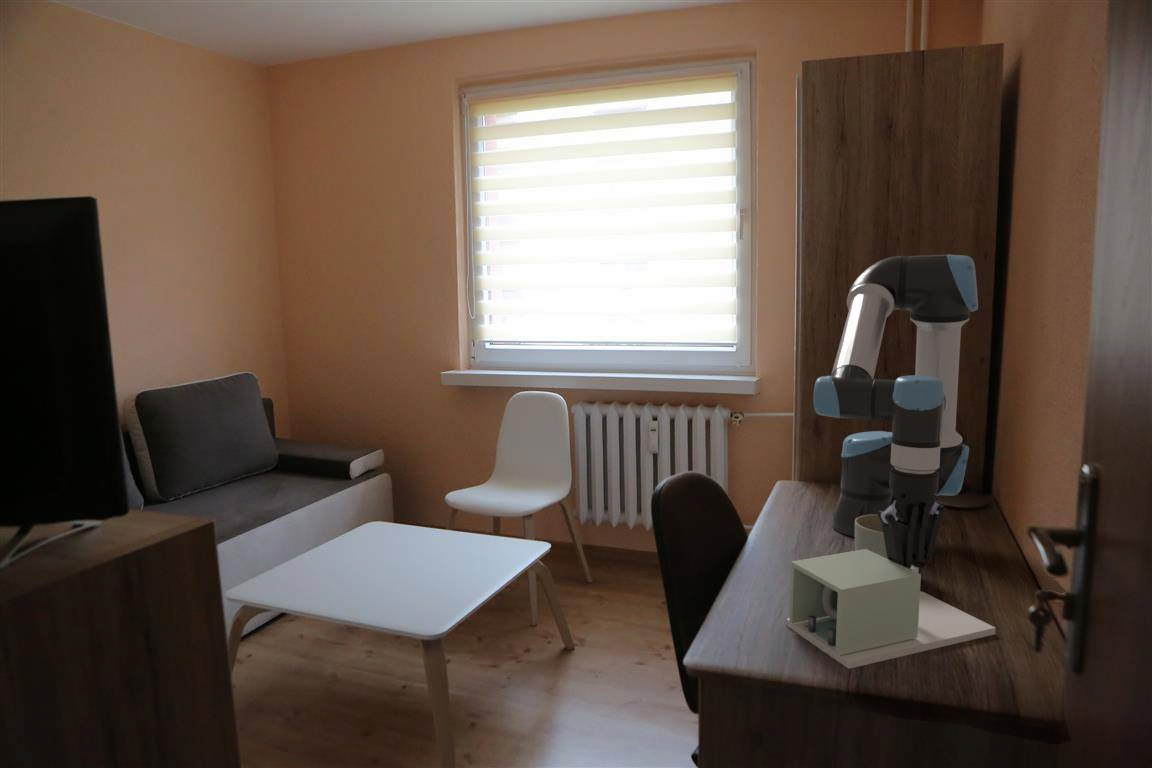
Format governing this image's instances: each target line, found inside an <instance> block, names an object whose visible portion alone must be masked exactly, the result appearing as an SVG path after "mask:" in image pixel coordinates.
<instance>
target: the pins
mask: <svg viewBox="0 0 1152 768" xmlns="http://www.w3.org/2000/svg"><path fill="white" fill-rule="evenodd" d="M808 631H809V632H811V633H813V632H815V631H816V616H813V615H810V616H809V621H808ZM828 645H830V646H834V645H836V629H834V628H829V629H828Z"/></svg>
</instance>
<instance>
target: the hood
mask: <svg viewBox="0 0 1152 768" xmlns="http://www.w3.org/2000/svg"><path fill="white" fill-rule="evenodd" d="M921 579H922V574H921V573H920V574H919V573H917V572H914V571H912V570H910V569H908V568H906V567H904V566H902V565H899V564H897V563H895V562H893V561H891V560H889V559H887V558H884V557H882V556H880V555H878V554H876V553H874V552H872V551H869V550H867V549H862V550H856V551H855V550H851V551H845V552H839V553H833V554H828V555H822V556H816V557H810V558H803V559H798V560H792V561H790V590H789V618H790V619H789V622H791V623H792V624H793V623H798V622H803V621H807V620H809V616H810V615H813V616H816V619H817V618H822V617H827V616H828V614H827V613H826V612H825V610H824V608H823V605H822V591H823V588H824V587H825V586H827V587H829V588H831V589H832V590H834V591H833V593H832V596H831V603H832V607H833V608H834V609H835V610H837V626H836V652H835V653H836V654H838V655H843V654H847V653H852V652H856V651H860V650H865V649H869V648H874V647H878V646H882V645H887V644H891V643H896V642H900V641H904V640H909V639H913V638H918V620H919V602H920V592H921Z"/></svg>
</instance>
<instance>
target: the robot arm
mask: <svg viewBox="0 0 1152 768" xmlns="http://www.w3.org/2000/svg"><path fill="white" fill-rule="evenodd" d="M976 272H977V271H976V266H975V262H974V259H973V258H972V257H971V256H968V255H960V254H957V255H956V254H949V253H948V254H929V255H926V254H925V255H923V254H922V255H904V256H903V255H895V256H890V257H886V258H884V259H881V260H879V261H877V262H875V263H874V264H872V265H870V266H869V267H868V268H866V269H865V270H864V271H863V272H862V273H861V274H859V276H858V277H857V278H856V279H855V280H854V282H853V284H852V285H851V286H850V289H849V291H848V294H847V298H846V307H847V310H848V312H847V317H846V319H845V324H844V327H843V331H842V335H841V338H840V341H839V346H838V350H837V353H836V356H835V359H834V363H833V366H832V371H831V375H824V376H819V377H818V378H817V379H816V380H815V383H814V389H813V399H812V400H813V409H814V412H815V413H816V414H817V415H819V416H823V417H824V416H825V417H831V418H836V419H854V420H855V419H856V420H867V421H869V420H871V421H881V422H892V431H884V430H883V431H882V430H877V431H874V430H873V431H872V430H871V431H863V432H857V433H853V434H849V435H848V436H847V437H845V438H844V440H843V442H842V451H841V455H840V457H841V471H840V473H841V476H840V478H841V479H840V494H839V499H838V501H837V504H836V507H835V510H834V512H833V514H832V517H831V528H832V529H833V530H835V531H836V532H838V533H840V534H842V535H846V536H848V537H849V536H850V537H854V538H855V519H856V518H858V517H860V516H863V515H870V514H878V517H879V519H880V521H881V523H882V527H883V534H884V540H885V546H886V552H887V559H889V560H891V561H893V562H895V563H897V564H899V565H902V566H904V567H906V568H908V569H910V570H912V571H914V572H917V573H919V574H921V569H925V568H926V567H927V565H928V563H925V562H930V561H931V560H932V558H933V553H934V550H935V546H936V542H937V538H938V533H939V529H940V525H941V521H942V518H943V517H944V515H945V514H946V511H947V507H946V506H944V505H942V504H939V503H938V502H936V497H938V496H949V497H952V496H956V495H958V494H959V493H960V492H961V490H962V487H963V483H964V478H965V476H966V475H965V474H966V471H967V470H966V469H967V464H968V459H969V454H970V447H969V446H968V445H965V444H963V437H962V435H961V434H959V433H958V431H956V427H957V426H956V425H957V411H958V410H957V407H958V406H957V405H958V391H959V390H958V389H959V371H960V368H959V367H960V352H961V339H962V338H961V334H962V327H963V326H964V325H965V324H966V323H967V322H969V320H970V318H971V317H970V316H971V313H972V312H975V311H977V310H978V309H979V299H978V286H977V285H978V284H977V275H976V274H977V273H976ZM896 310H897V311H898V310H899V311H909V313H910V314H909V320H910V321H911V322H912V323H914V324H915V326H916V343H915V344H916V345H915V372H914V373H915V374H914V375H901V376H899V377H897V378H896V379H879V378H874V377H875V372H876V368H877V363H878V358H879V353H880V350H881V349H880V348H881V346H882V345H881V344H882V340H883V337H884V336H883V335H884V331H885V326H886V320H887V318H888V317H889V316H890V315H891V313H892V312H893V311H896ZM935 496H936V497H935Z"/></svg>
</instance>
